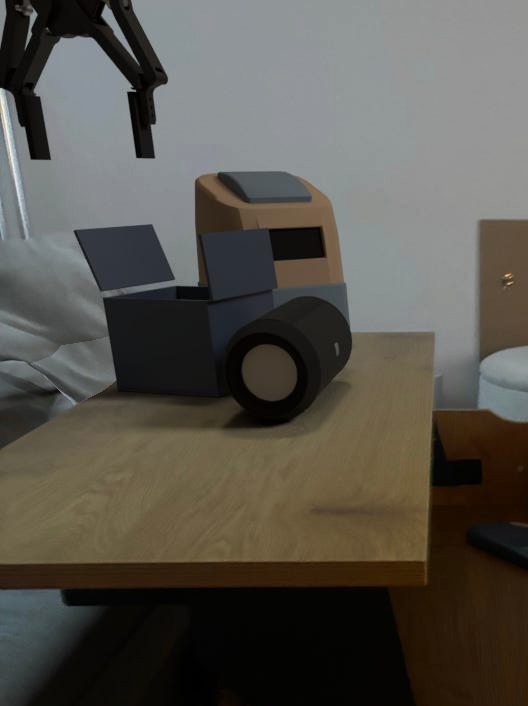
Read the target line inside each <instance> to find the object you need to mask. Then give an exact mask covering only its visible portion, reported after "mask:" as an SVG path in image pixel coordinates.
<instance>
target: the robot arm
mask: <svg viewBox="0 0 528 706" xmlns="http://www.w3.org/2000/svg"><path fill="white" fill-rule="evenodd" d="M4 5H5V19H4V24H3V29H2V35H1V41H0V89H3V90H4V91H7V92H9V93H11V95H12V96H13V100H14V106H15V111H16V115H17V121H18V124H19V126H20V127H21V128H24V131H25V136H26V143H27V147H28V148H27V149H28V154H29V157H30V161H52V157H51V150H50V145H49V140H48V139H49V138H48V134H47V128H46V122H45V116H44V110H43V105H42V99H41V96H39V95H37V93H36V92H35V89H36V87H37V84H38V83H39V80H40V78H41V75H42V74H43V71H44V69H45V67H46V65H47V62H48V60H49V58H50V56H51V54H52V52H53V50H54V48H55V45H56V44H58V43H60V40H61V39H69V40H70V39H75V38H77V37H79V38H84V39H88V38H89V39H90V38H91V39H93V40H94V41H95V42H96V43H97V45H98V46H99V47H100V48H101V50H102V51H103V52H104V53H105V55H106V56H107V57H108V58H109V60H110V61H111V62H112V63H113V65H114V66H115V67H116V68H117V69H118V71H119V72H120V73H121V75H123V77H124V78H125V79H126V81H127V82H128V83H129V84H130V85H131V87H130V89H131V90H133V91H131V90H130V91H126V97H127V102H128V109H129V117H130V123H131V131H132V138H133V146H134V153H135V159H147V160H149V159H150V160H153V159H156V153H155V146H154V139H153V130H152V126H154V125H156V124H157V114H156V107H155V105H156V104H155V100H154V99H155V98H154V97H155V96H154V92H155V90H156V89H157V88H159V87H161V86H165V85H167V84H168V82H169V76H168V74H167V72H166V71H165V69H164V67H163V65H162V63H161V61H160V60H159V57H158V55H157V54H156V51H155V50H154V48H153V45H152V43H151V42H150V40H149V38H148V36H147V34H146V32H145V29H143V26H142V25H141V22H140V21H139V18H138V17H137V15H136V13H135V11H134V6H133V2H132V0H4ZM106 6H107V8H108V9H109V10H110V11H111V13H112V16H113V18H114V20H115V21H116V24H117V26H118V27H119V29H120V31H121V33H122V35H123V37H124V39H125V40H126V42H127V44H128V46H129V48H130V50H131V52H132V54H133V56H132V54H131V53H130V52H129V51H128V49H127V48H126V47H125V46H124V44H123V43H122V42H121V41H120V39H119V38H118V37H117V36H116V34H115V31H114V29H113V28H112V27H111V26H110V25H109V23H108V22H107V20H106V19H105V18H104V17H103V16H102V15H103V12H104V10H105V7H106ZM34 11H35V13H36V14H37V15H36V16H35V19H34V21H33V24H32V26H31V28H30V25H31V16H32V14H34ZM29 30H30V33H31V36H30V38H29V40H28V36H29ZM27 41H28V42H27ZM134 57H135V58H134Z"/></svg>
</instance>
